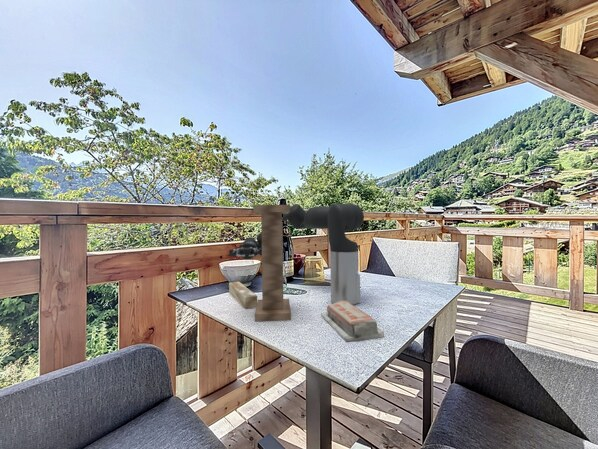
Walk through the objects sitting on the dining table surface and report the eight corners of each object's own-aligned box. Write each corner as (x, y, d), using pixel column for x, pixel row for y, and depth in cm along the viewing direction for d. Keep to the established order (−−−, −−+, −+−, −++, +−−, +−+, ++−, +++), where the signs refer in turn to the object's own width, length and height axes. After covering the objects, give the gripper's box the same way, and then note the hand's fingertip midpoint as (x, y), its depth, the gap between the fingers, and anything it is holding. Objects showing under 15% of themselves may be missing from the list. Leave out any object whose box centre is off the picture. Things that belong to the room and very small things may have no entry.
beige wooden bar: (239, 291, 106) (238, 281, 106) (257, 308, 85) (257, 295, 85) (229, 292, 105) (228, 282, 104) (245, 310, 83) (245, 297, 83)
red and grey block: (385, 318, 62) (346, 323, 59) (385, 339, 62) (346, 344, 59) (351, 297, 79) (320, 300, 77) (351, 313, 79) (320, 317, 77)
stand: (288, 304, 87) (287, 207, 87) (291, 320, 73) (289, 204, 73) (258, 305, 86) (257, 208, 86) (254, 321, 72) (253, 205, 72)
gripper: (264, 257, 125) (262, 262, 109) (233, 258, 124) (226, 263, 108) (263, 241, 125) (261, 244, 109) (233, 242, 124) (226, 245, 108)
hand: (244, 254), depth 108 cm, fingers open, 8 cm apart
